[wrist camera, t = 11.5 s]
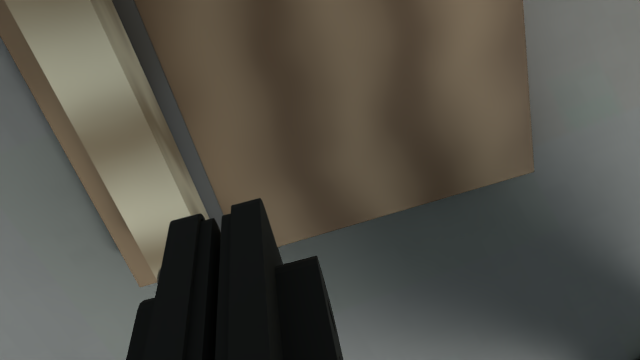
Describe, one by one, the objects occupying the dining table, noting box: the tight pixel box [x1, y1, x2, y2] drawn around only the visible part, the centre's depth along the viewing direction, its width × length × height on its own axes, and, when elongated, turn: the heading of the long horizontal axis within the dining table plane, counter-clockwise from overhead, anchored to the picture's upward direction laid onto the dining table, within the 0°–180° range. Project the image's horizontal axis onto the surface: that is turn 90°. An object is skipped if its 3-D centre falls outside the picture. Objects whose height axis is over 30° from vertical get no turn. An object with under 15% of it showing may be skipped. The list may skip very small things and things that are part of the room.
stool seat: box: [0, 0, 534, 287], centre depth 29 cm, size 24×18×2 cm
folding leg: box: [4, 0, 209, 284], centre depth 27 cm, size 17×3×3 cm, turn 15°
